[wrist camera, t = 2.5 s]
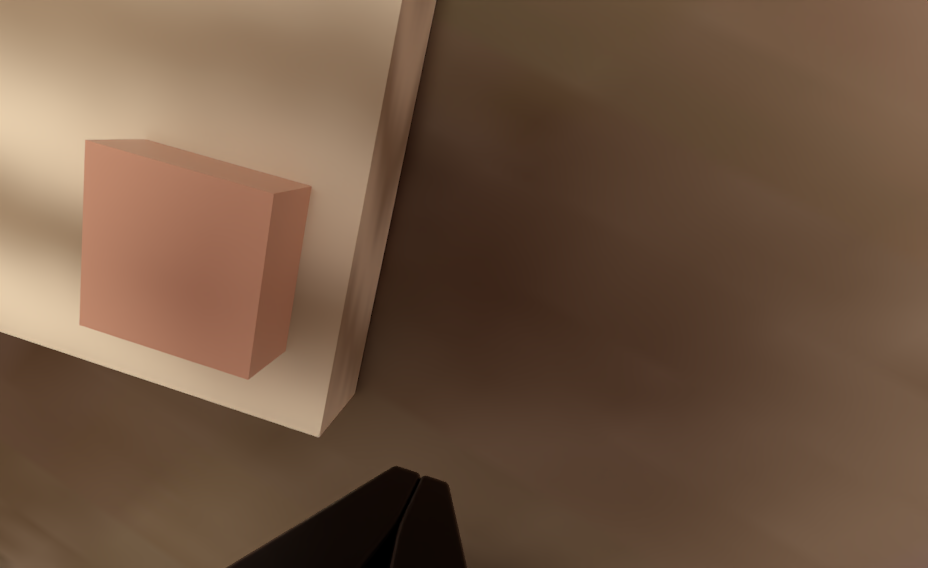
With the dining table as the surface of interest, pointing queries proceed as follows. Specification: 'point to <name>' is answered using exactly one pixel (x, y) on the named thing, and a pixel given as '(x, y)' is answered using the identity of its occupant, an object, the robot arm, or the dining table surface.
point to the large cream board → (220, 137)
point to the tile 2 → (189, 253)
